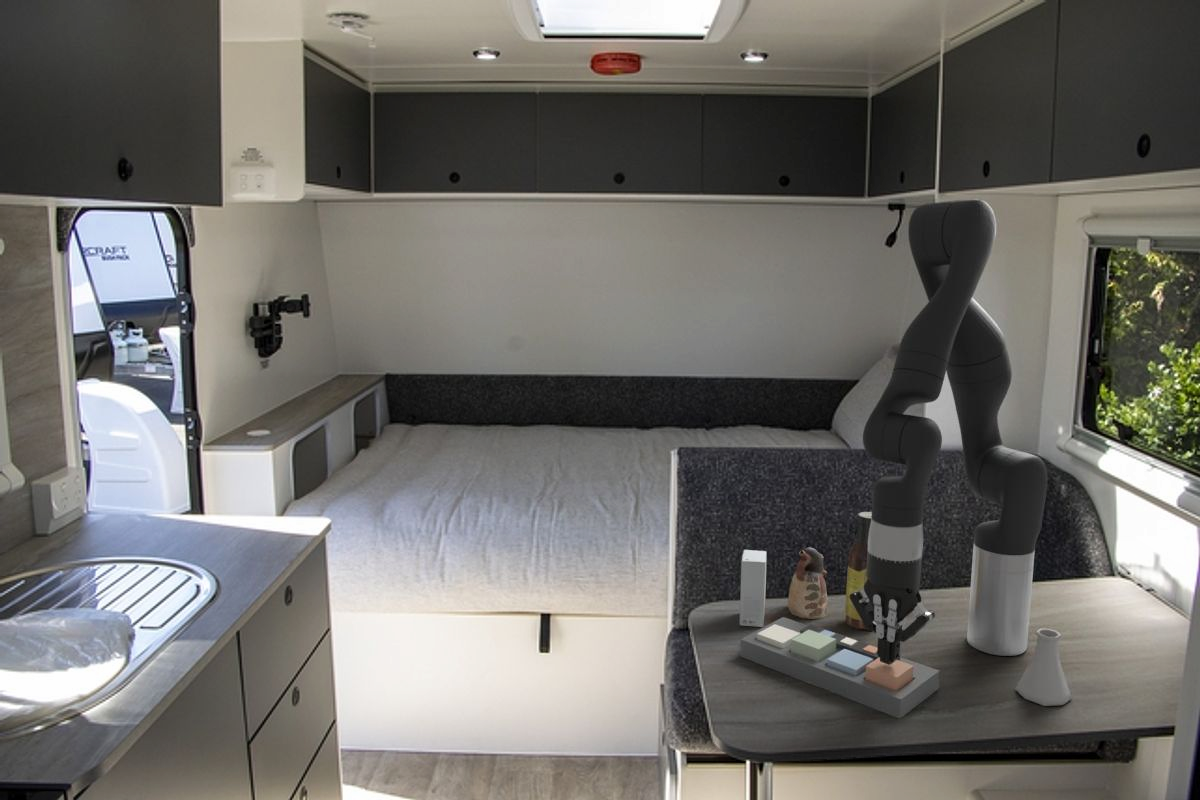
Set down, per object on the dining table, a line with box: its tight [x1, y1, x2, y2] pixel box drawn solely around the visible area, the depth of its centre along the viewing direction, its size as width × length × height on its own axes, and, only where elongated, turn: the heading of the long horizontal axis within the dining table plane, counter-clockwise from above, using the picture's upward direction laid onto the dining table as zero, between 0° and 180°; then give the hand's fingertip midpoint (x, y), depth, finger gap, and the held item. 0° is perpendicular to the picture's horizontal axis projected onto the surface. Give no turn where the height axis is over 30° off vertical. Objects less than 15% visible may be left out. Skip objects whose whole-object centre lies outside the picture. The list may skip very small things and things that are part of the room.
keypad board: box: [739, 616, 941, 720], centre depth 150 cm, size 12×28×4 cm, turn 45°
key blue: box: [827, 649, 873, 676], centre depth 147 cm, size 5×5×2 cm
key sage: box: [791, 630, 836, 662], centre depth 151 cm, size 5×5×2 cm
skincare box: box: [739, 549, 767, 628], centre depth 169 cm, size 6×4×12 cm
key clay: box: [865, 657, 914, 692], centre depth 142 cm, size 5×5×2 cm
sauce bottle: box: [844, 511, 872, 631], centre depth 166 cm, size 6×6×20 cm
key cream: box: [757, 624, 801, 649], centre depth 156 cm, size 5×5×2 cm
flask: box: [1014, 627, 1072, 707], centre depth 142 cm, size 7×7×10 cm
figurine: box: [787, 546, 829, 620], centre depth 172 cm, size 7×7×12 cm
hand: (887, 661), depth 142 cm, fingers closed
